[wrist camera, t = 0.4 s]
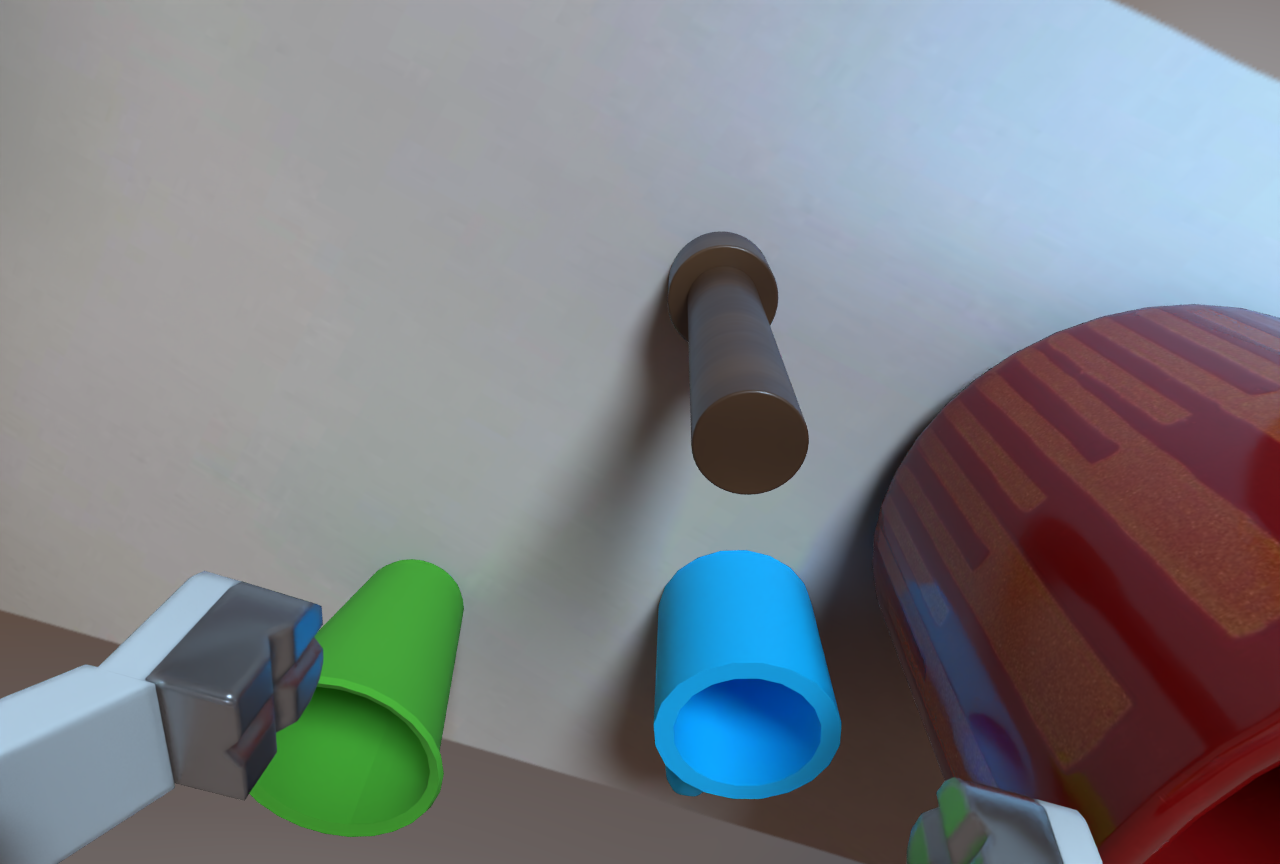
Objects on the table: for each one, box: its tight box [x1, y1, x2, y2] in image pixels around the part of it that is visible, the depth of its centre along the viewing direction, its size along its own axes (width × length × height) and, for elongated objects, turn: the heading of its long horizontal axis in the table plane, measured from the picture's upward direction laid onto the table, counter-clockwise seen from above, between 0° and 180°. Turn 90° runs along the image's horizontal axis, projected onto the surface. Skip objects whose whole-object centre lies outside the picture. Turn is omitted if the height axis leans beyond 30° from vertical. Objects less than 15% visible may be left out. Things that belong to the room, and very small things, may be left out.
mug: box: [654, 550, 841, 799], centre depth 37 cm, size 12×8×8 cm
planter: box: [872, 304, 1280, 864], centre depth 27 cm, size 23×23×20 cm
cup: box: [249, 559, 464, 837], centre depth 35 cm, size 9×9×11 cm
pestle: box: [667, 232, 809, 495], centre depth 25 cm, size 4×4×16 cm
